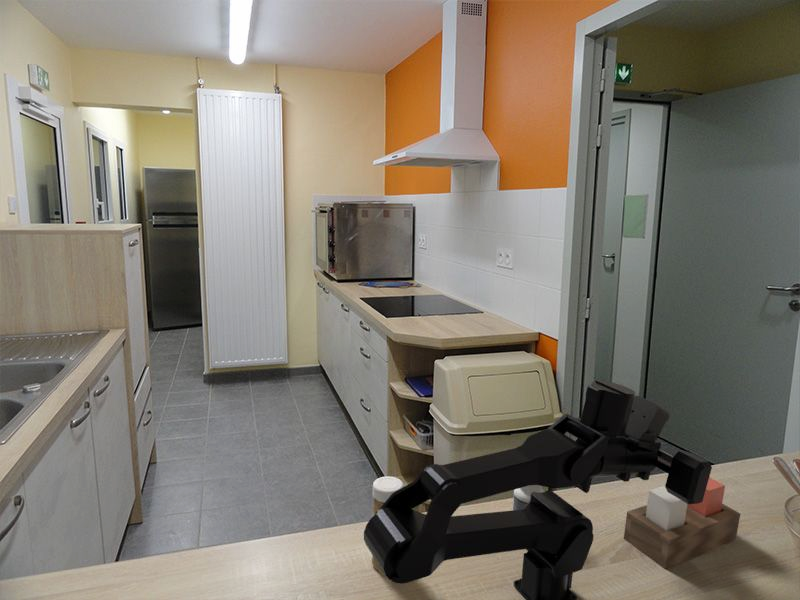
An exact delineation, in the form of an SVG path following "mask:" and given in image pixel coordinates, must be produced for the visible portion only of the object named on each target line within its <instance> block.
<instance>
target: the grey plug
mask: <svg viewBox="0 0 800 600" xmlns="http://www.w3.org/2000/svg"><path fill="white" fill-rule="evenodd" d="M646 505H647V510H646V517H647V518H648V519H650V520H651V521H653V522H654V523H656V524H657V525H659V526H660V527H662V528H663V529H665V530H666V531H670V530H673V529H676V528H678V527H681V526H684V523H685V516H686V510H687V503H685V502H684V501H682V500H680V499H679V498H677V497H675V496H674V495H672V494H670V493H668V492H667V490H666V487H665V485H661V486H659V487H654V488H653V489H649V490H648V497H647V503H646Z"/></svg>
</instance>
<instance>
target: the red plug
mask: <svg viewBox="0 0 800 600" xmlns="http://www.w3.org/2000/svg"><path fill="white" fill-rule="evenodd" d="M725 487H726V485H725V484H723V483H721V482H719V481H718V480H716V479H714V478H712V477H710V476H709V480H708V483H707V487H706V490H705V494H704V498H703V501H702V502H701V503H698V504H690V505H689V504H687V507H689V508H691V509H692V510H694V511H696V512H697V513H699V514H701V515H702V516H704V517H709V516H711V515H714V514H717V513H720V512H721V507H722V504H723V500H724V495H725V489H726V488H725Z"/></svg>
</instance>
